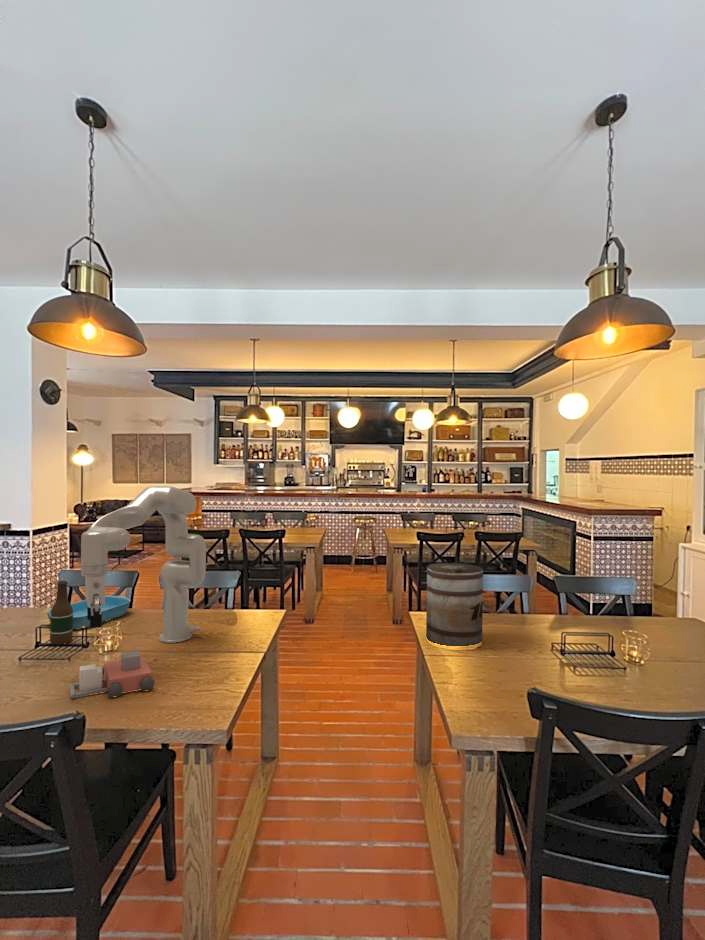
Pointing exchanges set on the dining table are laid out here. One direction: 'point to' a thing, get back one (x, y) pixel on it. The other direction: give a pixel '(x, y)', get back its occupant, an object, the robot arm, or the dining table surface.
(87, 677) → the stepped cream block
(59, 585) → the beer bottle
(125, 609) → the casserole dish
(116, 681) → the pink toy truck
